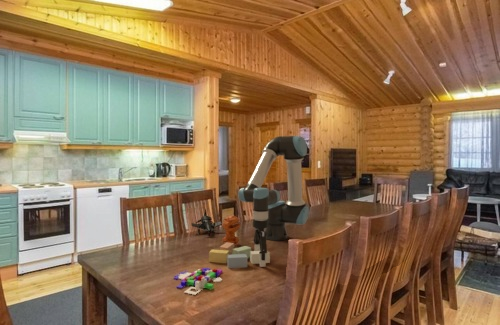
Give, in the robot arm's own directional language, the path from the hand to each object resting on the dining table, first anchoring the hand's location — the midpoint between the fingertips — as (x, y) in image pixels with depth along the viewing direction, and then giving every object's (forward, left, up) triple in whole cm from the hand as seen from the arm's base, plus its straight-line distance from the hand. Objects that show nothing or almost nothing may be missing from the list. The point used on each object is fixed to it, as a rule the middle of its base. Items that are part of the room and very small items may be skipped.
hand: (259, 261), depth 155 cm
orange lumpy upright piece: (+11, -29, 0) cm, 31 cm away
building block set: (+31, +18, -1) cm, 36 cm away
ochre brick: (+20, -4, 0) cm, 20 cm away
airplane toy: (+24, -57, 0) cm, 62 cm away
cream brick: (0, 0, 0) cm, 0 cm away
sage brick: (+8, -7, 0) cm, 11 cm away
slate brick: (+12, +4, 0) cm, 12 cm away
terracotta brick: (+15, -14, 0) cm, 21 cm away
